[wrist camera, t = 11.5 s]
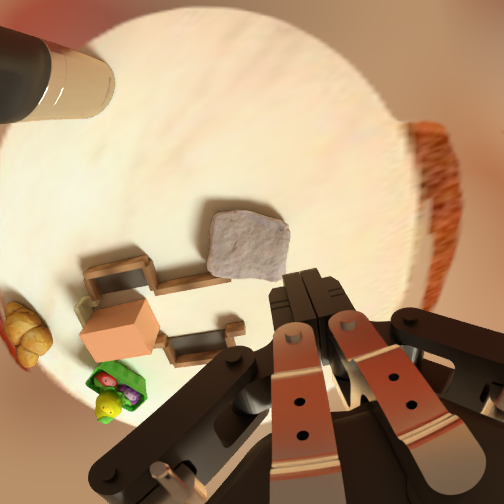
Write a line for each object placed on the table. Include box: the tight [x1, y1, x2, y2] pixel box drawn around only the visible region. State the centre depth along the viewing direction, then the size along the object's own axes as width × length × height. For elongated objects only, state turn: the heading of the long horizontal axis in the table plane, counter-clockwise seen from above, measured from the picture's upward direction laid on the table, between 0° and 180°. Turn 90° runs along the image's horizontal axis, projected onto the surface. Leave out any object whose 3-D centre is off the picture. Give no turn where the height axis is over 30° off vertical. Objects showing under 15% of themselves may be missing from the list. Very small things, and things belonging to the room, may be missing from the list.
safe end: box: [74, 296, 94, 328], centre depth 50 cm, size 1×11×4 cm, turn 12°
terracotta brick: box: [79, 298, 160, 363], centre depth 48 cm, size 11×6×8 cm, turn 105°
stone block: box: [206, 209, 290, 282], centre depth 46 cm, size 12×5×10 cm
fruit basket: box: [86, 360, 147, 424], centre depth 52 cm, size 11×9×11 cm
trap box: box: [81, 255, 246, 368], centre depth 50 cm, size 26×21×2 cm
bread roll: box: [4, 302, 53, 368], centre depth 48 cm, size 13×10×8 cm
